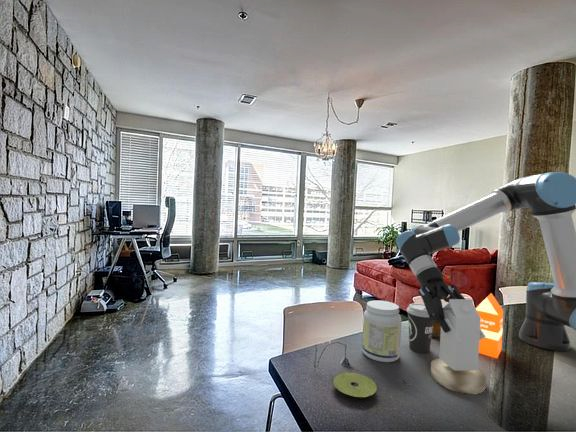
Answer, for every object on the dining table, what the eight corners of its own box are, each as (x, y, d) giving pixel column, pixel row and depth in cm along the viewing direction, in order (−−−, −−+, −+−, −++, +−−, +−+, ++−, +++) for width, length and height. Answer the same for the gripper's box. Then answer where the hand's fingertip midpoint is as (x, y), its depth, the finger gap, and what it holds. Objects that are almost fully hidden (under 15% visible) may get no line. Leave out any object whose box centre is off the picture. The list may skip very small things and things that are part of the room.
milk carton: (439, 358, 92) (441, 295, 91) (461, 358, 92) (464, 296, 92) (454, 371, 84) (457, 303, 84) (478, 370, 85) (481, 303, 85)
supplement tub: (369, 343, 111) (371, 297, 111) (404, 353, 104) (406, 304, 104) (356, 355, 101) (358, 305, 101) (393, 367, 94) (396, 313, 94)
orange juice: (501, 350, 109) (504, 294, 109) (497, 358, 103) (500, 299, 102) (476, 343, 114) (479, 290, 114) (471, 350, 108) (473, 294, 108)
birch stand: (480, 374, 92) (481, 364, 92) (491, 399, 79) (491, 388, 79) (429, 363, 97) (430, 354, 97) (431, 386, 85) (431, 375, 85)
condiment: (429, 330, 126) (430, 301, 126) (451, 337, 119) (452, 306, 119) (420, 334, 121) (422, 304, 121) (442, 341, 115) (444, 310, 114)
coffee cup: (421, 357, 101) (423, 312, 101) (399, 345, 110) (400, 304, 110) (440, 352, 106) (442, 309, 106) (417, 341, 114) (419, 301, 114)
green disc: (385, 400, 77) (385, 393, 77) (345, 407, 74) (345, 399, 74) (362, 377, 88) (362, 370, 88) (326, 381, 85) (326, 374, 85)
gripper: (443, 277, 106) (486, 341, 92) (394, 280, 98) (432, 351, 84) (458, 264, 101) (505, 330, 87) (407, 267, 93) (450, 340, 79)
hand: (469, 340), depth 85 cm, fingers closed on milk carton, 9 cm apart
